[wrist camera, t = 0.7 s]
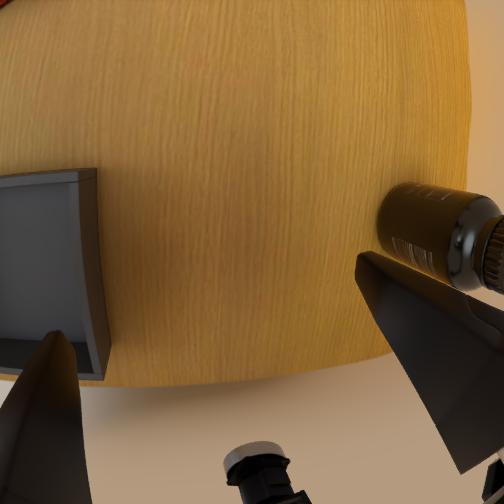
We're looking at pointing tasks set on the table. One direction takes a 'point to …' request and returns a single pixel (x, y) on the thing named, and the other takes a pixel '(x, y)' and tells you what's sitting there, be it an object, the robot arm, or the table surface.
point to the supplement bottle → (445, 235)
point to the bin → (51, 269)
